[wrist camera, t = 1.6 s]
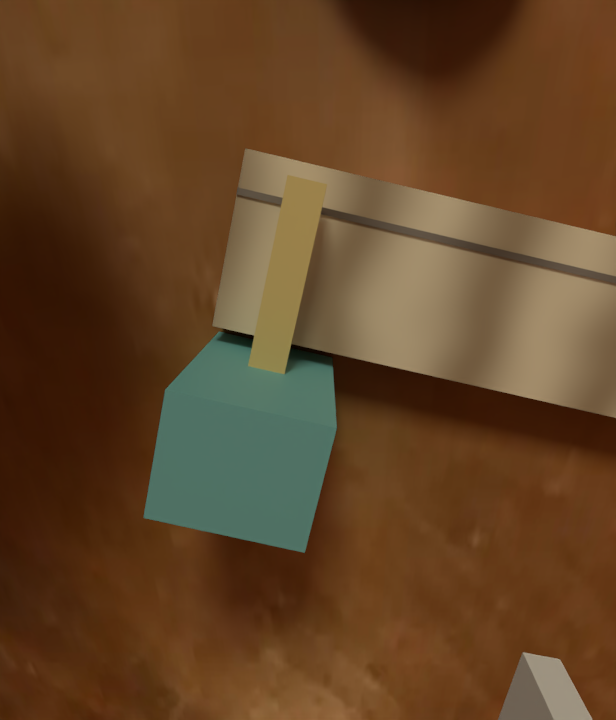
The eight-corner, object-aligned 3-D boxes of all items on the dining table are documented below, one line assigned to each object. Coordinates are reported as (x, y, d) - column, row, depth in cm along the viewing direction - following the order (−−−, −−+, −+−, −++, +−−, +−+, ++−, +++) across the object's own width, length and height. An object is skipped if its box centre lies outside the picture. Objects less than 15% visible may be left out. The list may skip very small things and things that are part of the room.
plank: (221, 317, 28) (211, 326, 26) (252, 154, 26) (245, 147, 24) (651, 415, 29) (683, 433, 26) (713, 264, 27) (753, 269, 24)
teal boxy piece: (202, 420, 30) (143, 517, 20) (249, 172, 26) (206, 145, 17) (310, 444, 30) (304, 552, 20) (370, 201, 27) (397, 190, 17)
